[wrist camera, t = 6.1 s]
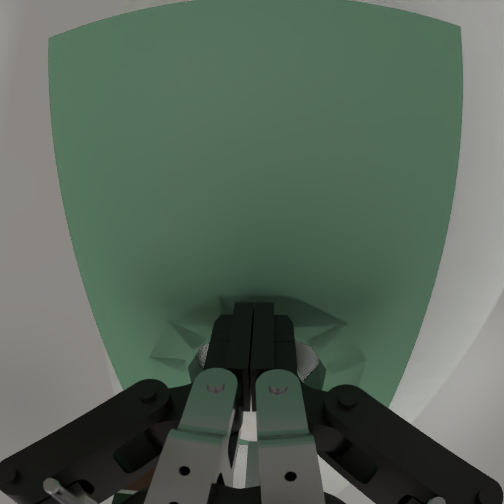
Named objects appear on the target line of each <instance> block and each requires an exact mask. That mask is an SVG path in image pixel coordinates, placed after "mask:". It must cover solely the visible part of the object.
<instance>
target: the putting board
mask: <svg viewBox="0 0 504 504" xmlns="http://www.w3.org/2000/svg"><path fill="white" fill-rule="evenodd" d="M48 62H49V63H48V65H49V66H48V69H49V96H50V111H51V123H52V133H53V142H54V150H55V158H56V164H57V171H58V177H59V183H60V188H61V194H62V199H63V204H64V209H65V214H66V219H67V223H68V228H69V232H70V236H71V240H72V244H73V248H74V252H75V256H76V260H77V263H78V267H79V270H80V274H81V277H82V281H83V284H84V287H85V291H86V294H87V297H88V300H89V303H90V306H91V309H92V312H93V315H94V318H95V320H96V324H97V326H98V329H99V332H100V334H101V337H102V340H103V342H104V345H105V348H106V350H107V353H108V355H109V358H110V360H111V363H112V365H113V367H114V370H115V372H116V374H117V377H118V379H119V381H120V384H121V386H122V388H123V390H125V389H127V388H128V387H130V386H132V385H133V384H135V383H137V382H138V381H141V380H144V379H157V380H160V381H162V382H163V383H165V384H166V385H167V387H168V388H173V387H179V386H184V385H188V384H190V383H192V382H194V380H195V378H196V377H197V375H198V374H199V373H201V372H202V371H203V368H202V367H201V366H200V365H199V362H198V357H197V352H198V351H199V349H200V347H201V346H202V345H204V344H207V343H209V342H210V338H211V334H212V329H213V325H214V322H215V321H216V320H217V319H218V317H219V316H220V315H221V314H233V310H234V304H235V302H254V310H255V302H274V315H288V317H289V318H290V319H291V321H292V322H293V325H294V337H295V340H296V341H298V342H301V343H303V344H305V345H308V346H310V347H312V349H313V350H314V352H315V353H316V355H317V356H318V358H319V366H318V367H317V368H316V369H315V370H314V371H313V372H312V373H311V374H310V375H309V376H308V377H307V378H306V379H305V380H304V383H305V384H306V385H308V386H309V387H312V388H314V389H318V390H323V391H327V392H328V391H329V390H330V389H331V388H333V387H335V386H338V385H343V384H349V385H354V386H357V387H359V388H361V389H362V390H364V391H365V392H366V393H368V394H369V395H370V396H372V397H373V398H375V399H376V400H377V401H379V402H380V403H381V404H383V405H384V406H386V407H387V408H388V407H389V405H390V403H391V401H392V399H393V396H394V394H395V392H396V390H397V387H398V385H399V383H400V380H401V378H402V376H403V373H404V371H405V368H406V366H407V363H408V361H409V358H410V356H411V353H412V350H413V348H414V345H415V342H416V339H417V337H418V334H419V331H420V328H421V325H422V322H423V319H424V316H425V313H426V310H427V307H428V303H429V300H430V297H431V293H432V290H433V286H434V283H435V279H436V276H437V272H438V268H439V264H440V260H441V256H442V252H443V247H444V243H445V239H446V234H447V229H448V224H449V219H450V214H451V208H452V202H453V196H454V190H455V183H456V176H457V168H458V159H459V149H460V138H461V124H462V101H463V65H462V43H461V30H460V26H457V25H454V24H451V23H448V22H445V21H441V20H438V19H434V18H431V17H427V16H424V15H420V14H416V13H412V12H408V11H403V10H399V9H394V8H389V7H384V6H379V5H373V4H367V3H361V2H354V1H347V0H196V1H188V2H181V3H175V4H169V5H163V6H158V7H152V8H147V9H143V10H138V11H134V12H130V13H125V14H121V15H118V16H114V17H111V18H107V19H103V20H100V21H96V22H93V23H90V24H87V25H84V26H81V27H78V28H75V29H72V30H69V31H66V32H64V33H61V34H59V35H56V36H53V37H51V38H49V48H48ZM239 444H240V445H248V455H247V469H246V483H245V488H249V487H254V486H259V472H258V450H257V441H247V440H243V439H240V441H239Z"/></svg>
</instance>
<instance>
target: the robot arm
mask: <svg viewBox="0 0 504 504" xmlns="http://www.w3.org/2000/svg"><path fill="white" fill-rule="evenodd" d="M251 400H252V412H256V423H257V424H256V426H257V450H258V472H259V486H254V487H249V488H243V489H236V488H233V474H234V468H235V463H236V457H237V452H238V447H239V441H240V436H241V429H242V427H241V426H242V423H243V413H244V412H250V405H251ZM317 454H318V455H319V456H320V457H321V458H322V459H323V460H325V461H326V462H327V463H328V464H329V465H330V466H331V467H332V468H334V469H335V470H336V471H337V472H338V473H339V474H341V475H342V476H343V477H344V478H345V479H346V480H348V481H349V482H350V483H351V484H352V485H354V486H355V487H356V488H357V489H358V490H360V491H361V492H362V493H363V494H364V495H366V496H367V497H368V498H369V499H371V500H372V501H373V502H374V503H376V504H502V502H503V491H502V488H501V486H500V485H499V483H498V482H496V481H495V480H494V479H492V478H490V477H489V476H487V475H486V474H484V473H483V472H481V471H480V470H478V469H476V468H475V467H473V466H472V465H470V464H469V463H467V462H466V461H464V460H463V459H461V458H460V457H458V456H456V455H455V454H454V453H452V452H451V451H449V450H447V449H446V448H445V447H443V446H442V445H440V444H439V443H437V442H435V441H434V440H433V439H431V438H430V437H428V436H427V435H425V434H424V433H423V432H421V431H420V430H418V429H417V428H415V427H414V426H412V425H411V424H410V423H408V422H407V421H405V420H404V419H402V418H401V417H400V416H398V415H397V414H395V413H394V412H393V411H391V410H390V409H388V408H387V407H386V406H384V405H383V404H381V403H380V402H379V401H377V400H376V399H375V398H373V397H372V396H370V395H369V394H368V393H366V392H365V391H364V390H362V389H361V388H359V387H357V386H354V385H349V384H343V385H338V386H335V387H333V388H331V389H330V390H329V391H328V392H327V391H323V390H318V389H314V388H312V387H309V386H308V385H306V384H305V383H303V382H302V380H301V379H300V378H299V376H298V373H297V362H296V349H295V337H294V325H293V322H292V321H291V319H290V318H289V317H288V315H274V302H255V310H254V302H235V304H234V310H233V314H221V315H220V316H219V317H218V319H217V320H216V321H215V322H214V325H213V329H212V334H211V338H210V343H209V347H208V352H207V356H206V361H205V365H204V369H203V371H202V372H201V373H199V374H198V375H197V377H196V378H195V380H194V382H192V383H190V384H188V385H184V386H179V387H173V388H168V387H167V385H166V384H165V383H163V382H162V381H160V380H157V379H144V380H141V381H138V382H137V383H135V384H133V385H132V386H130V387H128V388H127V389H125V390H124V391H122V392H120V393H119V394H117V395H116V396H114V397H112V398H111V399H109V400H108V401H106V402H104V403H102V404H101V405H99V406H97V407H96V408H94V409H93V410H91V411H89V412H87V413H86V414H84V415H82V416H81V417H79V418H77V419H76V420H74V421H72V422H70V423H69V424H67V425H65V426H64V427H62V428H60V429H58V430H57V431H55V432H53V433H51V434H50V435H48V436H46V437H44V438H43V439H41V440H39V441H37V442H35V443H34V444H32V445H30V446H28V447H26V448H25V449H23V450H21V451H19V452H17V453H15V454H13V455H12V456H10V457H8V458H6V459H4V460H3V461H1V462H0V490H1V491H2V492H4V493H5V494H6V495H7V496H9V497H10V498H12V499H13V500H14V501H15V502H16V503H17V504H99V503H101V502H103V501H104V500H106V499H107V498H109V497H110V496H112V495H114V494H115V493H117V492H119V491H120V490H122V489H123V488H125V487H126V486H128V485H129V484H131V483H132V482H134V481H135V480H137V479H138V478H140V477H141V476H143V475H144V474H145V473H147V472H148V471H150V470H151V469H153V468H154V467H155V466H157V467H156V470H155V473H154V475H153V478H152V481H151V484H150V486H148V487H145V488H143V489H141V490H139V491H137V492H136V493H134V494H133V495H131V496H130V497H129V498H127V499H126V500H125V501H123V502H122V503H120V504H346V503H344V502H343V501H341V500H340V499H338V498H337V497H335V496H333V495H331V494H328V493H326V492H323V486H322V480H321V474H320V468H319V462H318V456H317Z"/></svg>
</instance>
